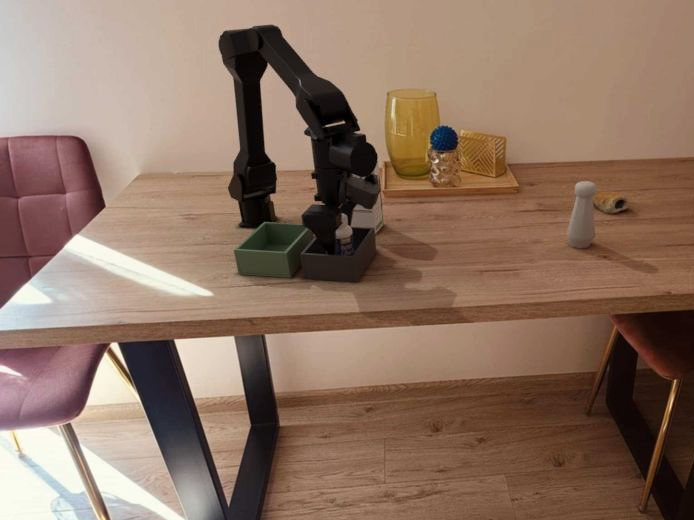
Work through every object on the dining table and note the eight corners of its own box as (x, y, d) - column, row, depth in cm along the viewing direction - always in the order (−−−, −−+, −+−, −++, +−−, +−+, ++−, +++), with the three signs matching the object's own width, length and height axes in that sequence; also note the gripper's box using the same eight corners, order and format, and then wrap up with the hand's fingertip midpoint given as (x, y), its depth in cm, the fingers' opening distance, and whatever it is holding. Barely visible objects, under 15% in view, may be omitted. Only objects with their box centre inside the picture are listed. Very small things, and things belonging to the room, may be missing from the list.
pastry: (584, 202, 154) (585, 187, 152) (606, 198, 157) (608, 183, 155) (609, 215, 147) (611, 199, 145) (631, 210, 150) (634, 194, 148)
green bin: (238, 274, 121) (233, 249, 118) (268, 244, 132) (264, 221, 130) (290, 277, 119) (286, 253, 117) (315, 247, 131) (312, 224, 129)
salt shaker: (596, 241, 134) (603, 180, 127) (591, 251, 130) (599, 189, 123) (568, 237, 136) (574, 177, 129) (563, 247, 131) (569, 185, 124)
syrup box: (376, 234, 137) (370, 167, 129) (349, 232, 138) (343, 165, 130) (384, 224, 142) (379, 159, 134) (358, 222, 143) (352, 157, 135)
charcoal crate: (303, 278, 119) (300, 254, 116) (327, 248, 131) (325, 225, 128) (356, 282, 118) (354, 257, 115) (376, 251, 130) (374, 227, 127)
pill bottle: (346, 272, 121) (340, 223, 116) (322, 267, 123) (315, 219, 118) (360, 261, 126) (356, 213, 120) (337, 256, 127) (331, 209, 122)
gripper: (359, 183, 105) (367, 269, 114) (387, 151, 121) (391, 229, 129) (294, 179, 107) (307, 265, 115) (330, 149, 122) (338, 226, 130)
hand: (339, 245), depth 122 cm, fingers open, 9 cm apart
